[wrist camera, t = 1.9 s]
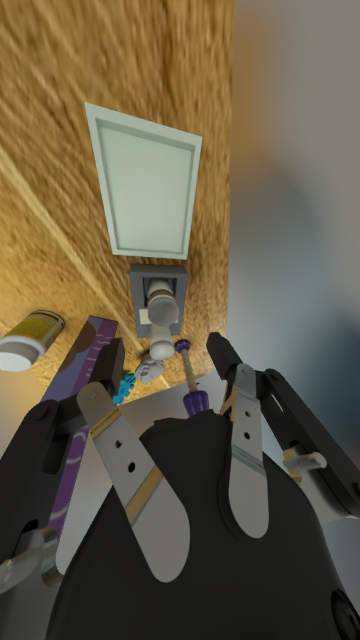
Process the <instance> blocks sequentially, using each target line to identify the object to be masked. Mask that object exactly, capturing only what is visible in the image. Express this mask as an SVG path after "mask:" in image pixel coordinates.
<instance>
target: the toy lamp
mask: <svg viewBox="0 0 360 640" xmlns="http://www.w3.org/2000/svg"><path fill="white" fill-rule="evenodd" d="M174 348H175V350H176V351H177V352H178V353H181V355H182V360H183V366H184V367H185V368H184V371H185V373H186V379H187V381H188V382H187V384H188V387H189V393H188V394H186V395H185V396H184V398H183V403H184V405H185V408H186V410H187V413H188V415H189V417H191V416H193V415H194V414H196V413H198V412H200V411H205V410H209V402H208V394H207V393H206V392H205V391H198V389H197V388H196V382H195V380H194V374H193V373H192V367H191V362H190V361H189V356H188V350H189V349H190V342H189V341H188V340H180V341H178V342H176V343H175V345H174Z"/></svg>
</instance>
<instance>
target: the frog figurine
mask: <svg viewBox="0 0 360 640" xmlns="http://www.w3.org/2000/svg"><path fill="white" fill-rule="evenodd" d="M164 370H165V367H164V366H163V361H162V360H155V359H153V358H151V356H150V353H148V354H146V355H145V356H144V357H143V358H142V361H141V363H140V365H139V366H138V367H137V369H136V370H135V375H134V377H136V378H137V379H138V380H139V379H140V381H141V383H143V384H146V383H147V382H151V381H152V380H153V379H155V378H157V377H158V376H160V375H161V374H162V373H163V372H164Z"/></svg>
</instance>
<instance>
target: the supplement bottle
mask: <svg viewBox="0 0 360 640" xmlns="http://www.w3.org/2000/svg"><path fill="white" fill-rule="evenodd" d="M64 326H65V325H64V322H63V320H62V319H61V318H60V317H59V316H57V315H56V314H54V313H51V312H47V311H36V312H33V313H31V314H30V315H29V316H27V317H26V318H25V319H24V320H23V321H22V322H20V323H19V324H18V325H17V326H16V327H14V328H13V329H12V330H11V331H10V332H9V333H7V334H6V335H5V336H4V337H3V338H1V340H0V369H1V370H6V371H23V370H27V369H29V368H30V367H31V366H32V365H33V364H34V362H35V361H36V360H37V358H40V357H41V356H43V355H44V354H45V353H46V352H47V350H48V349H49V347H50V346H51V345H52V343H53V342H54V341H55V339H56V338H57V337H58V335H59V334H60V333H61V331H62V330H63V328H64Z"/></svg>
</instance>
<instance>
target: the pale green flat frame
mask: <svg viewBox="0 0 360 640" xmlns="http://www.w3.org/2000/svg"><path fill="white" fill-rule="evenodd" d="M84 103H85V109H86V114H87V119H88V125H89V130H90V135H91V141H92V146H93V151H94V157H95V162H96V167H97V173H98V178H99V183H100V189H101V194H102V199H103V205H104V210H105V215H106V220H107V226H108V231H109V236H110V242H111V247H112V252H113V254H114V255H128V256H143V257H157V258H172V259H186V260H187V253H188V245H189V238H190V230H191V222H192V214H193V206H194V198H195V191H196V183H197V175H198V167H199V159H200V151H201V144H202V137H201V136H197V135H194V134H191V133H187V132H184V131H181V130H177V129H174V128H171V127H167V126H164V125H161V124H157V123H154V122H151V121H147V120H144V119H140V118H137V117H134V116H130V115H127V114H124V113H120V112H117V111H114V110H110V109H107V108H104V107H100V106H97V105H94V104H90V103H87V102H84Z"/></svg>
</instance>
